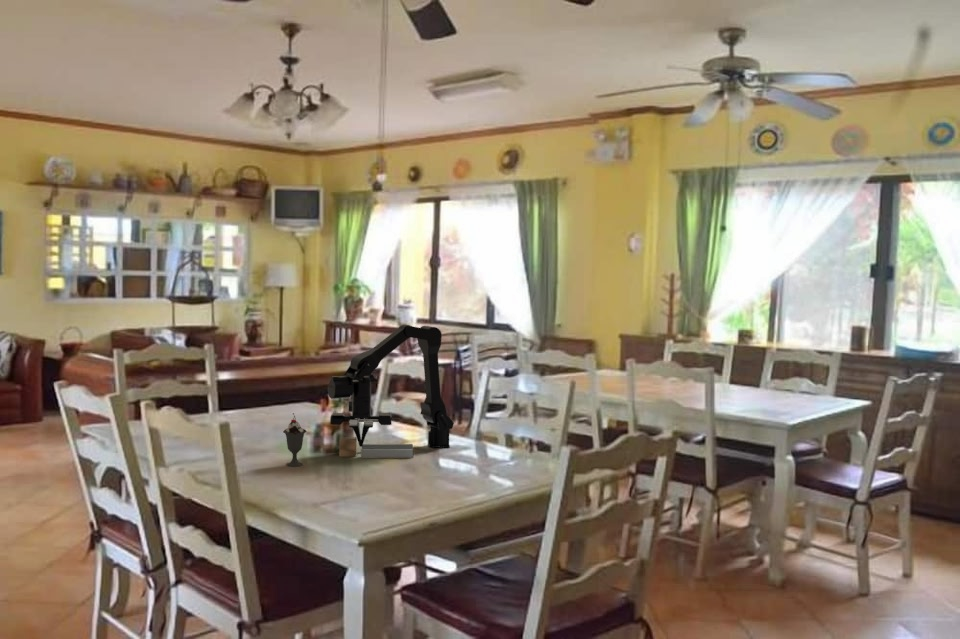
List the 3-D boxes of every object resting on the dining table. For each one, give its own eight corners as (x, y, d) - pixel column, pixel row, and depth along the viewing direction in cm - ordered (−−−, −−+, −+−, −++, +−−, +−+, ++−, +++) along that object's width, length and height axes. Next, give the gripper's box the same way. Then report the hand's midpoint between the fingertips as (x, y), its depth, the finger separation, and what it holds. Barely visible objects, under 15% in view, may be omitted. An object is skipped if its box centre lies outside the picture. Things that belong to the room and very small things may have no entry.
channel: (412, 451, 270) (412, 444, 270) (413, 457, 262) (413, 449, 261) (361, 451, 268) (362, 443, 268) (360, 457, 260) (360, 449, 260)
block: (356, 452, 266) (356, 437, 266) (355, 456, 261) (355, 440, 261) (340, 452, 266) (340, 437, 266) (339, 456, 261) (339, 440, 261)
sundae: (293, 460, 254) (294, 411, 253) (310, 464, 250) (311, 413, 249) (278, 465, 248) (278, 414, 247) (295, 468, 245) (295, 417, 244)
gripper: (391, 393, 272) (391, 441, 273) (333, 392, 270) (332, 440, 271) (391, 398, 261) (391, 448, 262) (330, 398, 259) (329, 448, 260)
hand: (360, 446), depth 264 cm, fingers closed
